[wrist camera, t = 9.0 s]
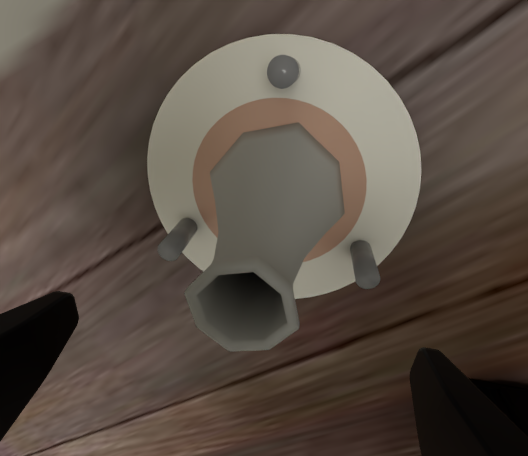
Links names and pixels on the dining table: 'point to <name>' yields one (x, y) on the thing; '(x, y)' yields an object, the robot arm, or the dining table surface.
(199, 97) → the pin cradle
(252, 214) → the flask
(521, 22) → the dining table surface
